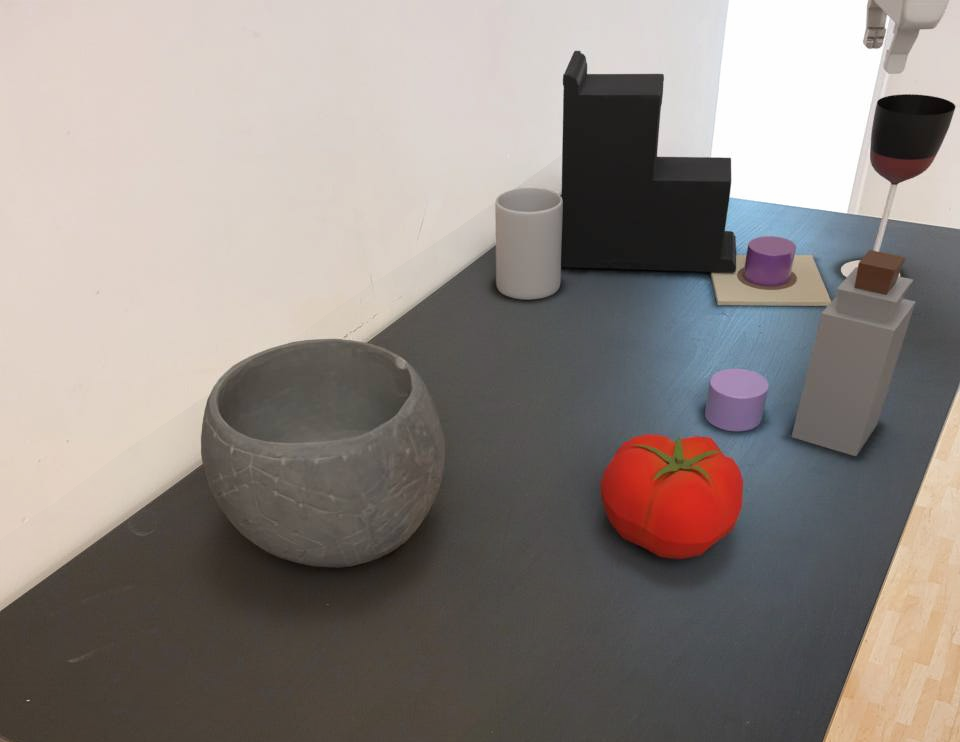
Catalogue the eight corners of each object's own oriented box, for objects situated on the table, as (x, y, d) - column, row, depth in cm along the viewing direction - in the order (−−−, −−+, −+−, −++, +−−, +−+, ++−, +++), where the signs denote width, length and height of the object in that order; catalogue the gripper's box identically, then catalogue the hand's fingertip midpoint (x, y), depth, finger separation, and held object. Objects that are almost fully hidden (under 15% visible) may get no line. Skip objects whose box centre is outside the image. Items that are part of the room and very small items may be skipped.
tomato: (773, 549, 84) (793, 468, 78) (661, 598, 80) (673, 516, 74) (678, 473, 93) (689, 394, 87) (572, 514, 89) (576, 434, 83)
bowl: (186, 524, 89) (142, 383, 79) (365, 441, 99) (347, 305, 88) (305, 641, 78) (272, 494, 67) (495, 535, 87) (493, 391, 76)
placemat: (811, 259, 127) (812, 254, 127) (830, 306, 117) (831, 300, 117) (706, 258, 128) (707, 253, 128) (717, 305, 118) (718, 300, 118)
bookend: (735, 241, 130) (761, 46, 114) (735, 274, 123) (763, 71, 106) (568, 238, 134) (570, 50, 118) (559, 271, 127) (559, 74, 110)
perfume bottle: (791, 437, 97) (833, 265, 84) (814, 407, 101) (857, 239, 88) (856, 456, 94) (909, 282, 82) (876, 425, 98) (930, 254, 85)
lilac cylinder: (757, 401, 102) (764, 368, 99) (765, 432, 98) (772, 398, 95) (702, 401, 102) (707, 367, 100) (707, 431, 98) (712, 397, 95)
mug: (557, 301, 120) (560, 214, 112) (491, 298, 121) (490, 211, 114) (565, 262, 129) (568, 178, 121) (504, 260, 130) (503, 176, 122)
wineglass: (909, 286, 120) (961, 115, 106) (839, 283, 122) (882, 114, 107) (900, 260, 126) (948, 94, 112) (833, 258, 127) (872, 93, 113)
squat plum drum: (740, 266, 125) (745, 236, 122) (786, 266, 124) (792, 236, 121) (745, 286, 120) (751, 255, 118) (793, 286, 120) (800, 255, 117)
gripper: (864, -123, 96) (832, 34, 106) (915, -91, 82) (872, 87, 91) (927, -125, 95) (889, 33, 105) (989, -93, 81) (938, 86, 91)
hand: (881, 59), depth 98 cm, fingers open, 8 cm apart
